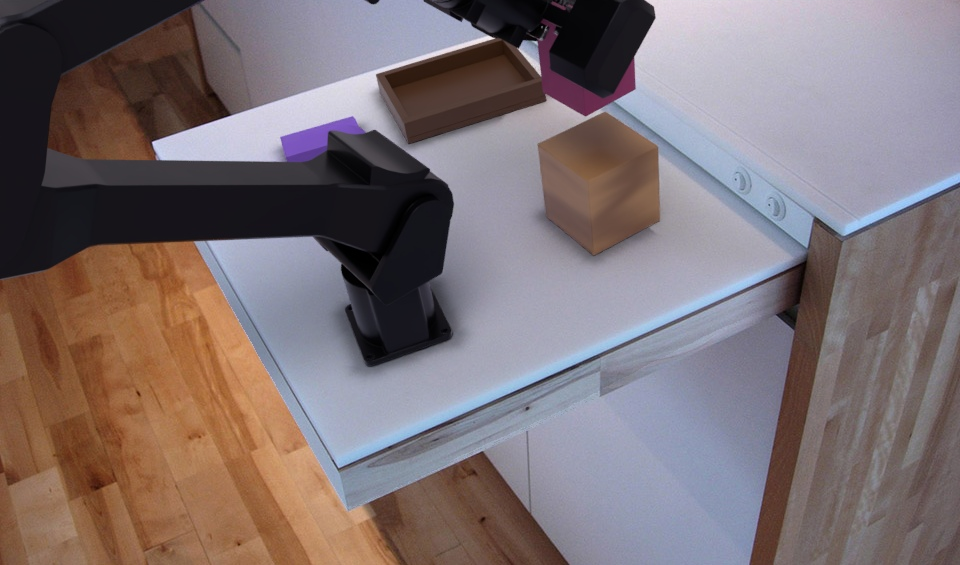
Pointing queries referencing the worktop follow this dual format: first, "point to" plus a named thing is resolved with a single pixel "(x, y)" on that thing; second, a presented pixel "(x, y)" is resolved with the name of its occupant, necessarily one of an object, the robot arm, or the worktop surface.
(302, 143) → the purple block
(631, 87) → the mulberry block
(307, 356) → the worktop surface
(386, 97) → the tray
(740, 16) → the worktop surface
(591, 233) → the oak block
